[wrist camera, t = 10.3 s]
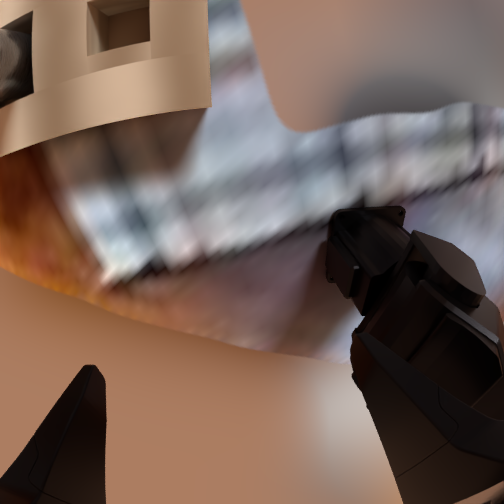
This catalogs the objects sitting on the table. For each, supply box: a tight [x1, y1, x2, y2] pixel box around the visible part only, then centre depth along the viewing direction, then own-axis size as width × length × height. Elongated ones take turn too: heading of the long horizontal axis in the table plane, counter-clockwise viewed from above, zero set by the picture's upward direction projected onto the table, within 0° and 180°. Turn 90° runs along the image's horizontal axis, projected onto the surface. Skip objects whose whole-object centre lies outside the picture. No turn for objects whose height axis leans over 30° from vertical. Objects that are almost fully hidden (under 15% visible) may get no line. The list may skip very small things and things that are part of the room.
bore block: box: [0, 0, 212, 157], centre depth 10 cm, size 15×10×4 cm, turn 92°
